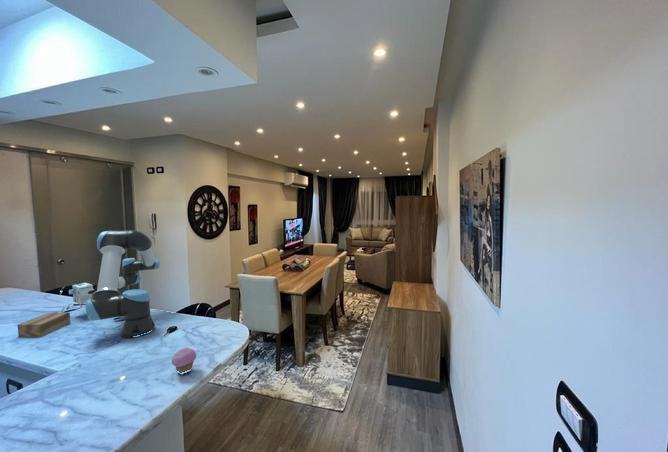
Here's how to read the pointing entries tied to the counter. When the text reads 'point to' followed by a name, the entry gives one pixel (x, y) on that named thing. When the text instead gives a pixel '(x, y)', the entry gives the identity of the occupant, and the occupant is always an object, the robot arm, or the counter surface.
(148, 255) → the robot arm
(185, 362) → the cupcake
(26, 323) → the walnut block
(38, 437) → the counter surface
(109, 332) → the counter surface
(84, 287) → the light bulb box
